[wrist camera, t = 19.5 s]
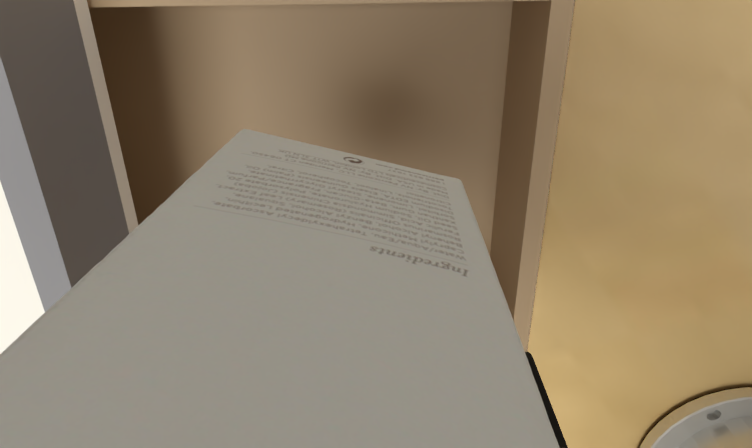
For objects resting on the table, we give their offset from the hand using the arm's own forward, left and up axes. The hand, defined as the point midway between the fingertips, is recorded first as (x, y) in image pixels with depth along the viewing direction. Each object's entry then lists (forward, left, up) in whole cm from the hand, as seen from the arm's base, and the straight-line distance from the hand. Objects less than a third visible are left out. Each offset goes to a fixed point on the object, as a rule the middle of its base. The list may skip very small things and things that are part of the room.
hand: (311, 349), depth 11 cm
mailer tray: (+3, 0, -17) cm, 17 cm away
